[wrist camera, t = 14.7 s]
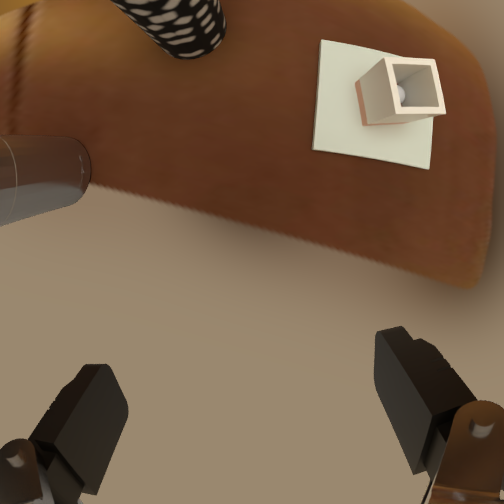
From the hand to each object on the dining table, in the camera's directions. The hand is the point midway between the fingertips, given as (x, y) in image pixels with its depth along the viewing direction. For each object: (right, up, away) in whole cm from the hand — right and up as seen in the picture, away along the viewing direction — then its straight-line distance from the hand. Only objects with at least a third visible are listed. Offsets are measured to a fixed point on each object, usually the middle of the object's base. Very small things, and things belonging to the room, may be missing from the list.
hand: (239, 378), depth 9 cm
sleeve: (+14, +20, +22) cm, 33 cm away
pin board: (+14, +20, +24) cm, 35 cm away
